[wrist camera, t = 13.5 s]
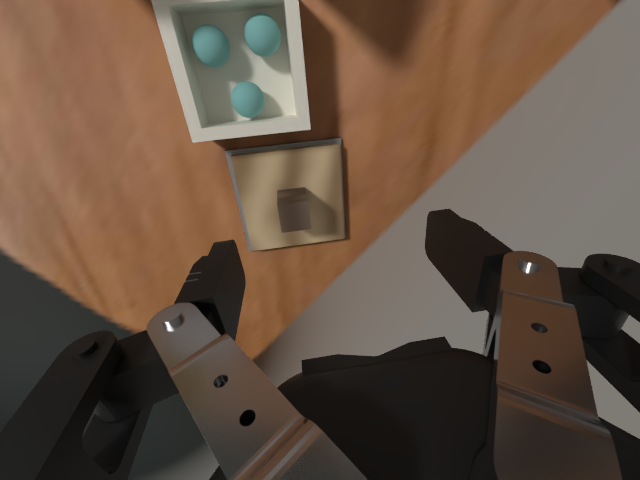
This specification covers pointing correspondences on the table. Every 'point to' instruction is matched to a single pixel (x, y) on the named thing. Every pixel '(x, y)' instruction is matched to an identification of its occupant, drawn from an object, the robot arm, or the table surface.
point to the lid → (291, 195)
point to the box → (235, 67)
